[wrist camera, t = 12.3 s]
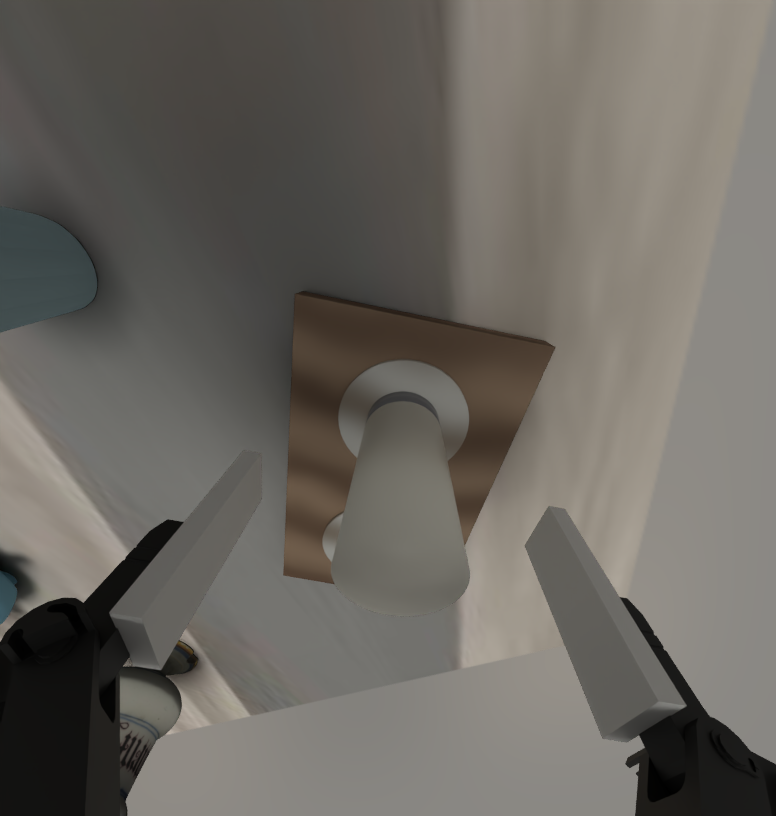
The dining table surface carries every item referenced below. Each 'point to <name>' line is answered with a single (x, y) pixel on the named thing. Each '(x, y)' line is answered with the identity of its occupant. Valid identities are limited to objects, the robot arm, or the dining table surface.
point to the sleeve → (401, 516)
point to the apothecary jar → (147, 712)
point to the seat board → (383, 374)
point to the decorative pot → (7, 594)
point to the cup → (40, 270)
